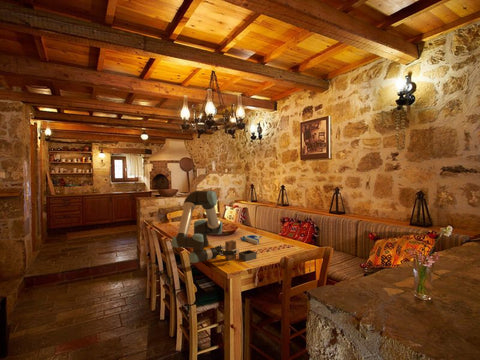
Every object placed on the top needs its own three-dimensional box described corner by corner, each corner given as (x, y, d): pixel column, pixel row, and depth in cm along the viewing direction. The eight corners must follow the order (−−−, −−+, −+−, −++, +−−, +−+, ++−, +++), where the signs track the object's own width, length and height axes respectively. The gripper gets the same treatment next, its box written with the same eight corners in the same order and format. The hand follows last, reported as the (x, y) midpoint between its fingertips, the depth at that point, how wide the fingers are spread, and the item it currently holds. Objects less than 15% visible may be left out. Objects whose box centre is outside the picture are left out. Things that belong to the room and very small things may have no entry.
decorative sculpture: (251, 242, 240) (233, 235, 264) (251, 246, 240) (233, 239, 264) (273, 237, 255) (254, 232, 279) (273, 241, 255) (254, 235, 279)
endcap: (245, 261, 198) (245, 255, 198) (238, 258, 204) (238, 252, 204) (256, 258, 205) (256, 252, 204) (249, 255, 211) (249, 249, 211)
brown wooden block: (228, 260, 199) (228, 242, 199) (225, 259, 203) (225, 241, 202) (236, 259, 204) (236, 241, 203) (232, 257, 207) (232, 239, 207)
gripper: (201, 254, 201) (224, 249, 214) (219, 263, 182) (243, 257, 195) (201, 245, 201) (224, 240, 214) (219, 252, 182) (243, 247, 195)
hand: (233, 248), depth 205 cm, fingers open, 13 cm apart
